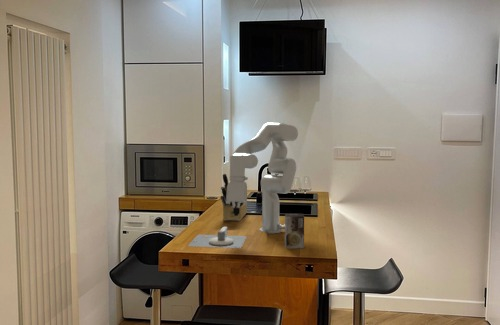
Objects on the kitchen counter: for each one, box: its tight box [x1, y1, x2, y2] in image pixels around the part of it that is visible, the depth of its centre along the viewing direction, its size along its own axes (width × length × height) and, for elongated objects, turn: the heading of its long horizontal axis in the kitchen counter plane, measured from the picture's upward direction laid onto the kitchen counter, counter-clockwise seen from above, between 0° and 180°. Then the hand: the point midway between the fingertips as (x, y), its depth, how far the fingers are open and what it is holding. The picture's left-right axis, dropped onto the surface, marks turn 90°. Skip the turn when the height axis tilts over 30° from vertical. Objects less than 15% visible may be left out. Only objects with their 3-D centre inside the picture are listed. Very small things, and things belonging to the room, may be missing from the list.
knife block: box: [220, 173, 248, 222], centre depth 316 cm, size 11×35×31 cm, turn 171°
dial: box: [209, 226, 233, 245], centre depth 254 cm, size 18×12×5 cm, turn 173°
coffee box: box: [284, 213, 305, 249], centre depth 250 cm, size 9×6×16 cm
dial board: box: [187, 234, 248, 249], centre depth 255 cm, size 26×24×2 cm
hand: (236, 215), depth 255 cm, fingers closed
